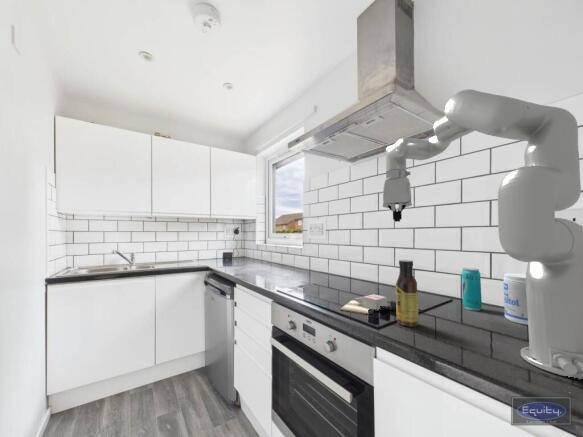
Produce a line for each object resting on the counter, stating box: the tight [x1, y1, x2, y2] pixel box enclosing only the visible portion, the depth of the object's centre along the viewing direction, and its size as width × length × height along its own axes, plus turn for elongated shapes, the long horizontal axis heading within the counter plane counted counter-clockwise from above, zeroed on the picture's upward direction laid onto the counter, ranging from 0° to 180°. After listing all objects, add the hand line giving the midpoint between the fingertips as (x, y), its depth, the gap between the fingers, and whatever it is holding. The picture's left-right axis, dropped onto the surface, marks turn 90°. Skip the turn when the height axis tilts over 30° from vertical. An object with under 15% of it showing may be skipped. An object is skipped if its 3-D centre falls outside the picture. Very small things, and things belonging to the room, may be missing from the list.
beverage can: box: [461, 267, 483, 312], centre depth 95 cm, size 6×6×15 cm
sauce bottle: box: [395, 259, 419, 328], centre depth 79 cm, size 7×6×20 cm
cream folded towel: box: [339, 299, 369, 315], centre depth 96 cm, size 14×11×1 cm
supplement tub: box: [503, 272, 528, 326], centre depth 81 cm, size 10×10×15 cm
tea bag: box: [354, 293, 388, 311], centre depth 97 cm, size 4×7×10 cm
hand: (397, 221), depth 100 cm, fingers closed
